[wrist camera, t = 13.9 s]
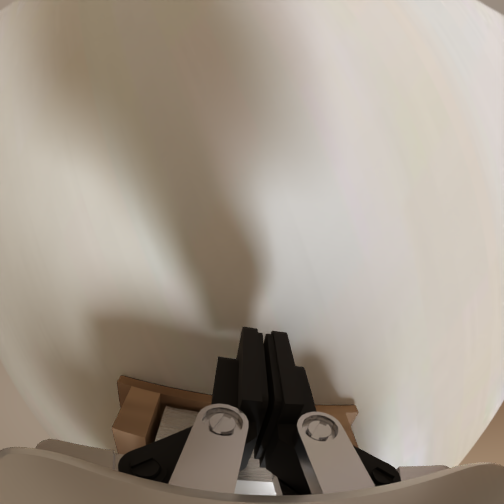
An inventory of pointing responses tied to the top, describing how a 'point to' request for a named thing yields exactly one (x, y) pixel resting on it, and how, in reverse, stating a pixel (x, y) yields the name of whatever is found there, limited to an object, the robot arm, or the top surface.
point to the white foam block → (248, 479)
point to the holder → (158, 397)
